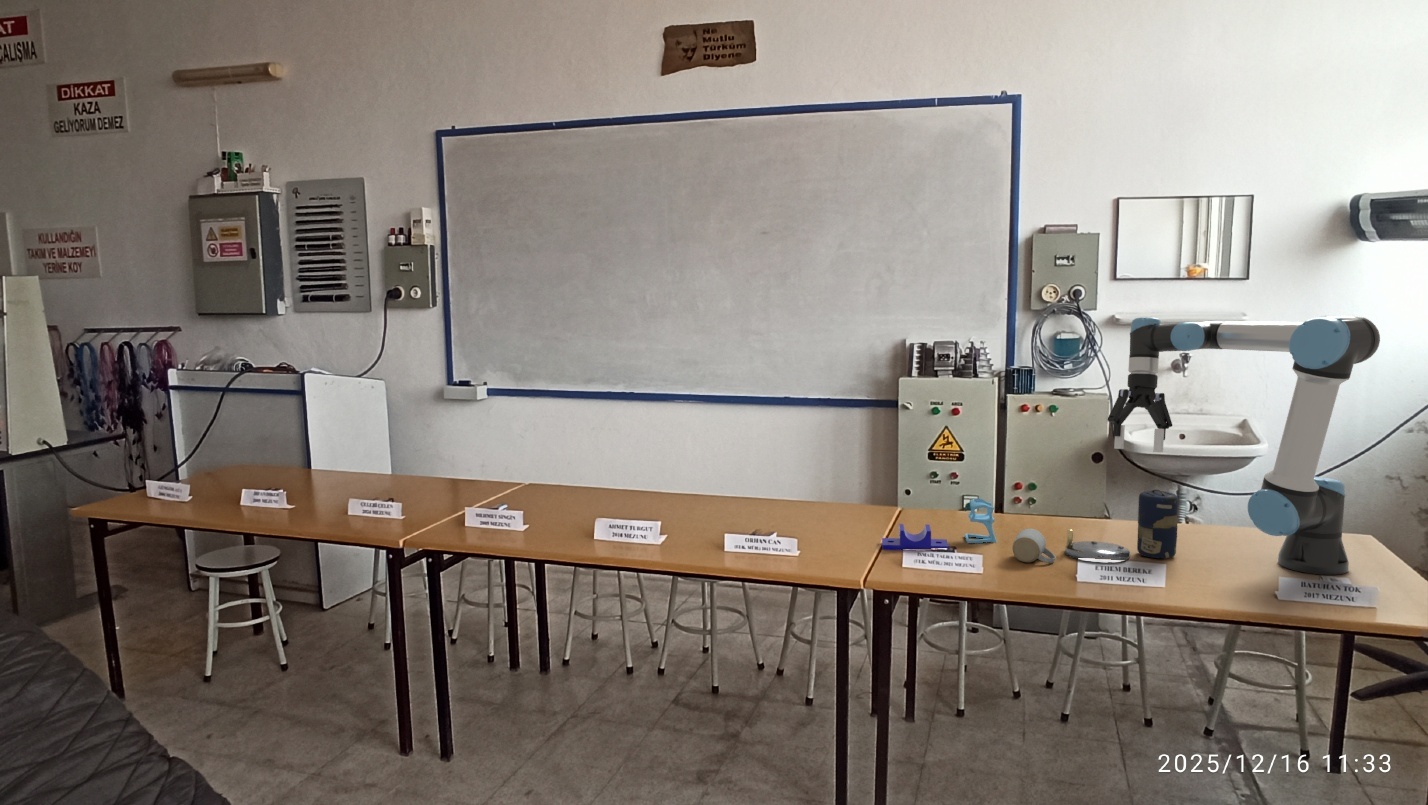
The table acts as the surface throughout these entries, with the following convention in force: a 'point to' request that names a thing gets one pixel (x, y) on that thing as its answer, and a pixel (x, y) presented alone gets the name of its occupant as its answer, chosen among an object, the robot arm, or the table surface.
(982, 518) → the light blue stand
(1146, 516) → the canister
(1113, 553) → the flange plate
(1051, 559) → the ceramic mug
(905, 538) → the mounting bracket
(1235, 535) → the table surface
